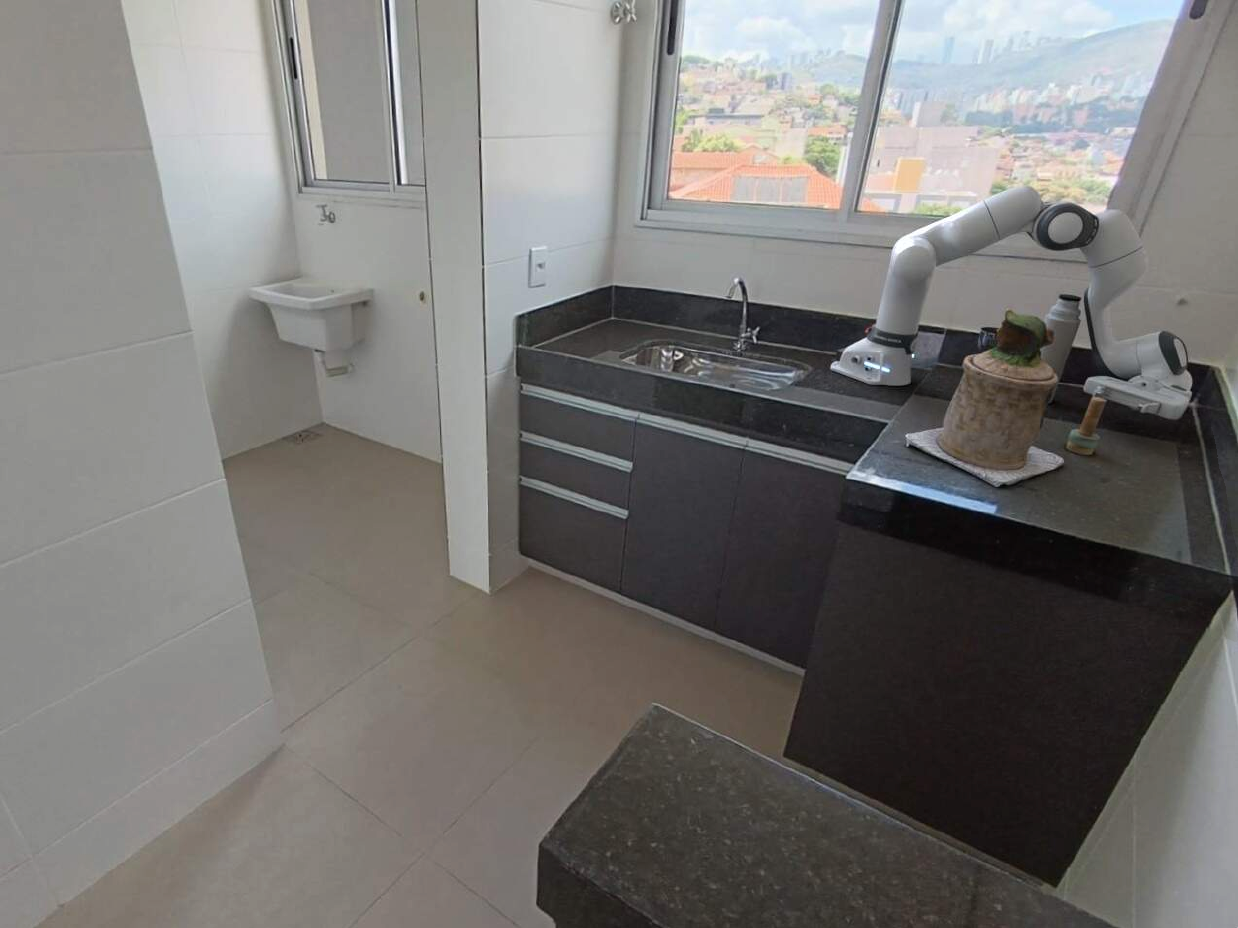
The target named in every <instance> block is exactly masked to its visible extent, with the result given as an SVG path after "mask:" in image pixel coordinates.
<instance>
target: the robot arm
mask: <svg viewBox="0 0 1238 928" xmlns="http://www.w3.org/2000/svg"><path fill="white" fill-rule="evenodd" d="M1019 233H1026V234H1027V235H1028V236H1029V237H1030V238H1031V240H1033V241H1034V242H1035V243H1036V244H1037V245H1038V246H1039V247H1040V248H1041V249H1044V250H1045V249H1046V250H1049V251H1054V252H1062V251H1069V250H1073V249H1079V250H1080V251H1081V253H1082V254H1083V256H1084V258H1085V260H1086V263H1087V266H1088V268H1089V272H1090V282H1089V285H1088V286H1087V287H1086V289H1085V290H1084V293H1083V306H1084V313H1085V321H1086V326H1087V331H1088V336H1089V340H1090V341H1089V342H1090V347H1091V364H1092V370H1093V373H1094V375H1096V376H1090V377H1087V379H1086V381H1085V382H1084V385H1083V392H1084V393H1086V394H1088V395H1091V396H1092V397H1099V398H1103V399H1105V400H1106V401H1107V400H1108V401H1110V402H1114V403H1117V404H1120V405H1123V406H1127V407H1128V408H1129V409H1131V410H1134V411H1135V412H1138V413H1141V414H1145V413H1149V414H1152V415H1155V416H1158V417H1162V418H1165V419H1167V420H1173V421H1177V420H1180V418H1182V416H1183V415H1184V413H1185V411H1186V410H1187V408H1188V406H1189V404H1190V401H1191V398H1192V395H1193V392H1192V391H1191V388H1192V386H1193V377H1192V375H1191V373H1190V372H1189V371H1188V370H1187V368H1188V365H1189V354H1188V350H1187V346H1186V344H1185V342H1184V341H1183V340H1182V339H1181V338H1180V337H1179V336H1177V335H1176V334H1174V333H1172V332H1170V331H1168V330H1162V331H1156V332H1152V333H1147V334H1145V335H1144V334H1143V335H1140V336H1137V337H1132V338H1128V339H1124V340H1120V341H1119V340H1116V339H1115V338H1114V334H1113V328H1112V323H1111V317H1110V308H1111V305H1112V304H1113V303H1114V302H1115V301H1116V300H1118V299H1119V298H1121V297H1122V296H1124V295H1126V294H1127V293H1128V292H1130V291H1131V290H1132V289H1133V288H1135V287H1136V286H1137V285H1138V284H1139V283H1140V282H1141V281H1142V280H1143V279H1144V278H1145V276H1146V275H1147V272H1148V270H1149V259H1148V254H1147V252H1146V249H1145V247H1144V246H1145V245H1144V243H1143V241H1142V240H1141V237H1140V235H1139V233H1138V231H1137V229H1136V227H1135V226H1134V224H1133V222H1132V221H1131V219H1130V218H1129V217H1128V215H1127V214H1126V213H1125V212H1124V211H1122V210H1119V209H1107V210H1103V211H1100V212H1098V213H1095V214H1094V213H1093V212H1090V211H1089V210H1088V209H1086V208H1085V207H1083V206H1080V205H1079V204H1076V203H1073V202H1071V201H1043V199H1042V197H1041V194H1040V193H1039V192H1038V191H1037V189H1035V188H1034V187H1033V186H1031V185H1027V184H1022V185H1018V186H1015V187H1012V188H1009V189H1006V190H1003V191H1000V192H998V193H995V194H994V195H993V194H992V195H991V196H988V197H986V198H984V199H982V200H981V201H978V202H976V203H974V204H971V205H970V206H968V207H967V208H964V209H962V210H960V211H958V212H955V213H954V214H952V215H950V216H948V217H945V218H943V219H941V220H938V221H935V222H933V223H931V224H929V225H926V226H924V227H921V228H919V229H917V230H915V231H913V232H910V233H908V234H906V235H904V236H903V237H900V238H899V240H897V241H896V243H895V244H894V245H893V247H892V250H891V253H890V262H889V266H888V270H887V274H886V278H885V283H884V287H883V292H882V295H881V299H880V304H879V308H878V313H877V318H876V321H875V323H874V324H872V326H869V327H868V328H866V329H865V334H866V337H864V338H862V339H861V340H858V341H856V342H854V343H853V344H850V345H849V346H847V347H844V348H840V349H838V350H836V354H835V360H836V361H835V360H834V361H833V362H832V363H831V364H830V367H829V369H830V371H833V372H836V373H838V374H841V375H844V376H846V377H849V378H851V379H855V380H857V381H859V382H862V383H864V384H868V385H870V386H871V385H872V386H880V385H881V386H882V385H883V386H891V387H892V386H894V387H895V386H898V387H899V386H906V385H909V384H911V382H912V360H913V358H914V357H915V354H914V352H915V350H916V347H917V344H918V337H919V332H918V329H919V327H920V322H921V319H922V315H923V310H924V307H925V302H926V300H927V297H928V295H929V294H928V293H929V291H930V287H931V283H932V280H933V277H934V273H935V271H936V268H937V267H939V266H941V265H944V264H947V263H949V262H952V261H955V260H958V259H962V258H965V257H968V256H970V255H972V254H974V253H977V252H978V251H981V250H984V249H986V248H987V247H989V246H992V245H994V244H996V243H998V242H1000V241H1003V240H1005V239H1007V238H1009V237H1012V236H1014V235H1016V234H1019ZM1128 379H1129V380H1128ZM1125 380H1127V381H1125ZM1092 397H1091V398H1092Z"/></svg>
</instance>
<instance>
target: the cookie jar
mask: <svg viewBox="0 0 1238 928" xmlns="http://www.w3.org/2000/svg"><path fill="white" fill-rule="evenodd" d="M1004 313H1005V314H1004V319H1003V320H1002V321H1001V326H1000V327H998V328H999V329H998V330H997V332H998V335H997V337H998V345H997V346H996V347H995V348H993V349H990V350H988V351H986V352H984V353H981V354H980V353H976V354H970V355H967V356H965V358H964V359H963V362H962V369H963V374H962V376H961V379H960V381H959V384H958V386H957V387H956V390H955V391H954V394H953V395H952V398H951V400H950V403H949V405H948V407H947V409H946V412H945V415H944V418H943V427H939V428H938V427H937V428H935V429H926V430H924V431H923V430H922V431H916V432H912V433H906V434H905V436H904V437H905V439H906V446H905V447H909V446H910V445H911V446H913V447H916V448H918V449H920V450H921V451H923V452H925V453H927V454H929V455H930V456H933V457H936V458H938V459H940V460H943V461H945V462H947V463H949V464H951V465H953V466H956V467H958V468H959V469H962V470H964V471H965V472H968V473H970V474H972V475H974V476H975V477H977V478H980V479H981V480H983V481H984V482H987V483H988V484H990V485H992V486H994V487H996V488H999V487H1000V486H1001V485H1006V486H1011V485H1013V484H1016V483H1018V482H1020V481H1022V480H1023V481H1024V480H1027V479H1029V478H1032V477H1035V476H1038V475H1042V474H1045V473H1046V472H1050V471H1054V470H1055V469H1057V468H1059V467H1061V466H1062V465H1063V464H1064V463H1065V460H1064V458H1063V457H1061V456H1059V455H1058V454H1055V453H1053V452H1050V451H1046V450H1043V449H1041V448H1039V447H1036V446H1033V444H1034V443H1035V441H1036V440H1037V438H1038V437H1039V436H1040V435H1039V434H1040V431H1041V429H1042V428H1043V424H1044V418H1045V411H1046V407H1047V406H1048V405H1049V403H1048V402H1049V401H1050V399H1051V397H1052V390H1053V388H1054V386H1055V385H1056V384H1057V382H1058V377H1057V375H1056V374H1055V373H1054V372H1053V370H1052V368H1051V367H1050V366H1049V365H1048V364H1046V363H1045V362H1044V361H1043V360H1042V359H1041V351H1040V349H1041V348H1042V347H1044V346H1048V345H1050V344H1052V343H1053V341H1054V332H1053V330H1052V329H1050V328H1048V327H1046V324H1045V322H1044V320H1042V319H1041V318H1039V317H1038V316H1037V315H1036V316H1035V315H1029V314H1020V313H1017V312H1014V311H1013V310H1012V309H1010V308H1006V309H1005V312H1004Z"/></svg>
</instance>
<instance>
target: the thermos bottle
mask: <svg viewBox="0 0 1238 928" xmlns="http://www.w3.org/2000/svg"><path fill="white" fill-rule="evenodd" d="M1081 301H1082V297H1081V296H1078V295H1074V294H1067V293H1066V294H1065V293H1062V294H1059V296H1058V299H1057V301H1056V304H1055V305H1052V306H1051V308H1050V310H1049V313H1047V314H1045V317H1044V319H1043V321H1044V322H1045V324H1046V327H1048V328H1050V329H1052V330H1053V332H1054V341H1053V343H1052V344H1050V345H1048V346H1044V347H1042V348H1041V349H1040V351H1041V359H1042V360H1043V361H1044V362H1045V363H1046V364H1048V365H1049V366H1050V367H1051V368H1052V370H1053V372H1054V373H1055V374H1056V375H1057V377H1058V382H1057V384H1056V385H1055V386H1054V388H1053V390H1052V397H1051V399H1050V401H1049V402H1048V404H1051V403H1052V402H1053V400H1054V398H1055V394H1056V392H1057V389H1058V386H1059V383H1060V381H1061V378H1062V375H1063V372H1064V369H1065V364H1066V362H1067V360H1068V358H1069V355H1070V353H1071V351H1072V348H1073V344H1074V342H1075V340H1076V336H1077V334H1078V330H1079V328H1080V325H1081V322H1082V320H1081V319H1080V316H1081V313H1082V311H1081V309H1079V307H1080V302H1081Z"/></svg>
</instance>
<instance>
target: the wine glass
mask: <svg viewBox="0 0 1238 928" xmlns="http://www.w3.org/2000/svg"><path fill="white" fill-rule="evenodd" d="M999 328H1000V327H993V326H984V327H983V326H982V327H981V328H980V329H979V333H978V339H977V349H978V352H979V354H981V353H984V352H986V351H988V350H990V349H993V348H995V347H996V346H997V345H998V337H997V335H998V332H997V330H998V329H999Z"/></svg>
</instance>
